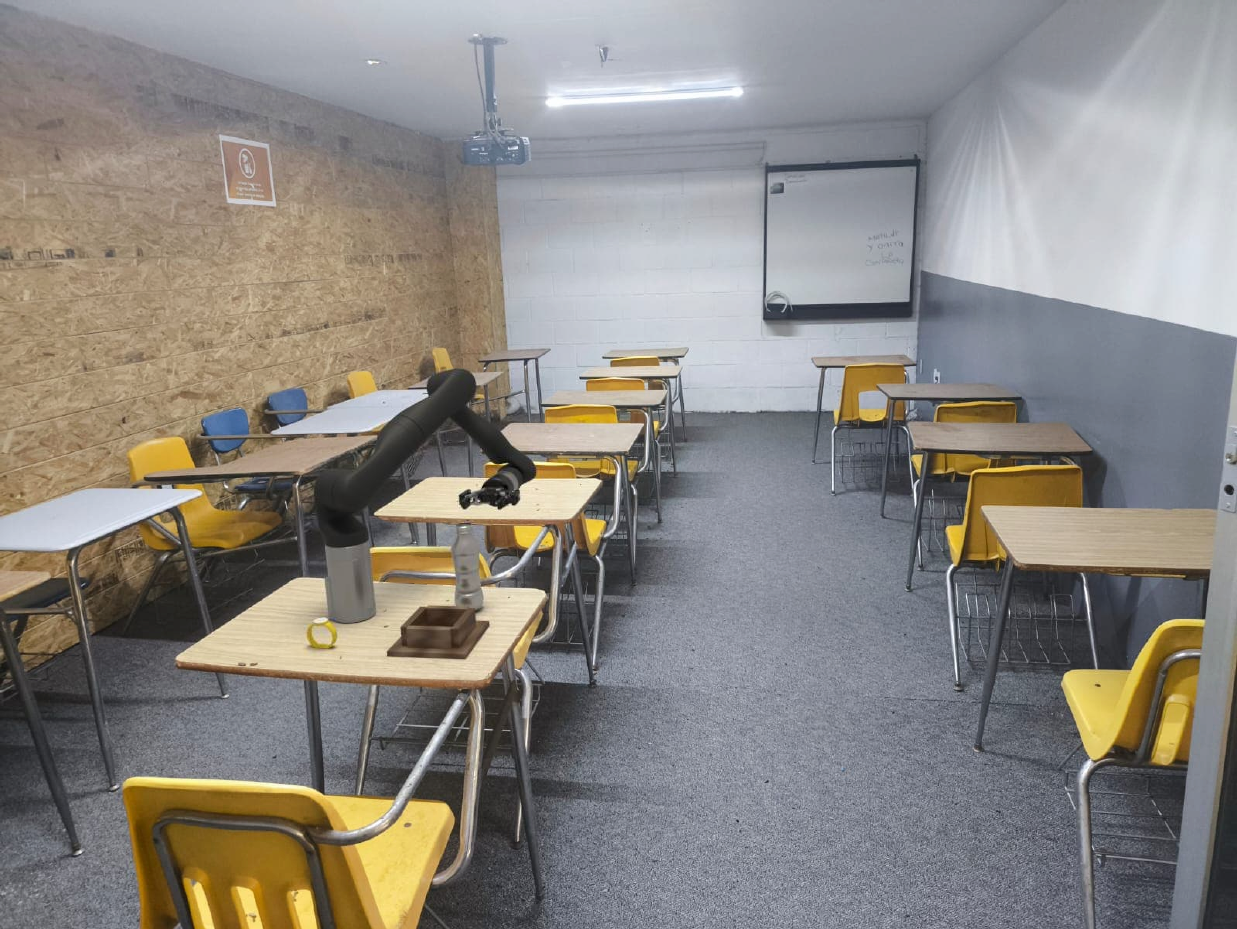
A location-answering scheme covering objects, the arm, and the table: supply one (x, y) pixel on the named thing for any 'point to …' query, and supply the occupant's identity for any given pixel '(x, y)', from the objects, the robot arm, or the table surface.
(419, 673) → the table surface
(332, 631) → the watch
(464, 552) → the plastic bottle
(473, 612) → the bottle rack
